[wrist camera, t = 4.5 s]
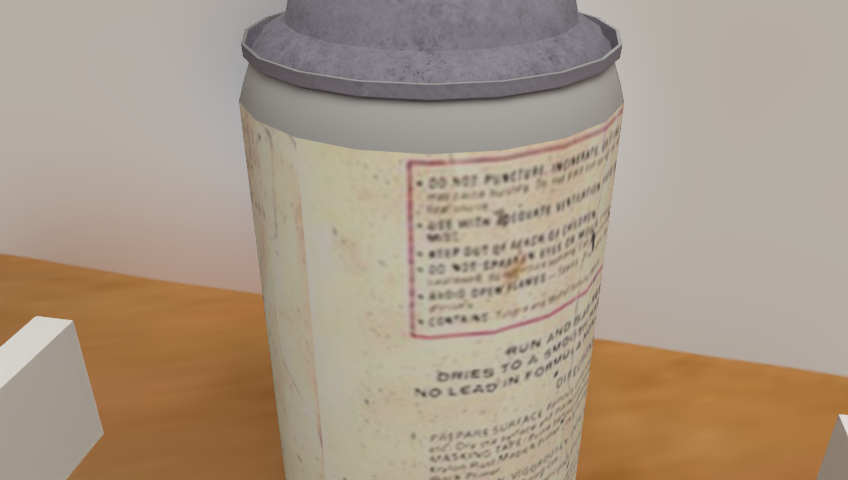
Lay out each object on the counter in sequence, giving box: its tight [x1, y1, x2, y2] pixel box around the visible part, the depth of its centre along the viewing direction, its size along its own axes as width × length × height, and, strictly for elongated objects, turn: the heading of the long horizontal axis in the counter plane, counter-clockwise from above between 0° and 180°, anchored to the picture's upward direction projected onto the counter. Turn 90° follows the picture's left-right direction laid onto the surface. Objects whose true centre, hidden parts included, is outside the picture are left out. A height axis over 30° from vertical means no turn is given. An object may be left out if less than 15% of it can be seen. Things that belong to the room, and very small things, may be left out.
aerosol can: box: [239, 0, 624, 480], centre depth 16 cm, size 7×7×20 cm
